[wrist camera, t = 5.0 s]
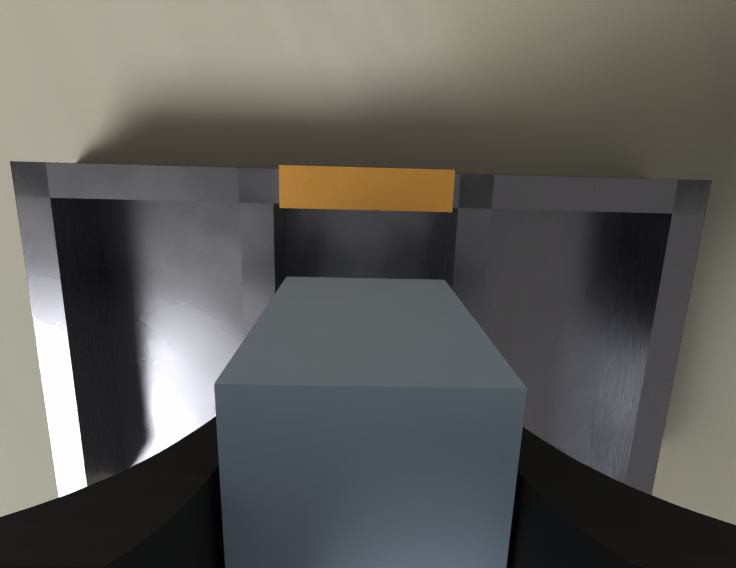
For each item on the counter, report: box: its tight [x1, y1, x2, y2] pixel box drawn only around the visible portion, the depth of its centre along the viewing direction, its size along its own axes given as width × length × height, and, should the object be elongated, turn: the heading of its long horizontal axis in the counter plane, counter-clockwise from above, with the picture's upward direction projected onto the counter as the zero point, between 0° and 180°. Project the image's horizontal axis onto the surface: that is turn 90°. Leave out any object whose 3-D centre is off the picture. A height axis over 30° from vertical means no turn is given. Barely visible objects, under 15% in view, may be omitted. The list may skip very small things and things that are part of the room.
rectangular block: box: [214, 277, 527, 568], centre depth 10 cm, size 7×4×6 cm, turn 179°
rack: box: [10, 161, 711, 497], centre depth 16 cm, size 12×21×4 cm, turn 88°
